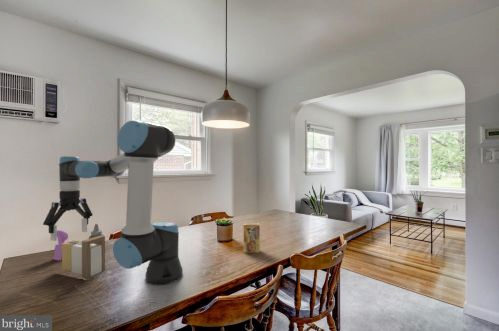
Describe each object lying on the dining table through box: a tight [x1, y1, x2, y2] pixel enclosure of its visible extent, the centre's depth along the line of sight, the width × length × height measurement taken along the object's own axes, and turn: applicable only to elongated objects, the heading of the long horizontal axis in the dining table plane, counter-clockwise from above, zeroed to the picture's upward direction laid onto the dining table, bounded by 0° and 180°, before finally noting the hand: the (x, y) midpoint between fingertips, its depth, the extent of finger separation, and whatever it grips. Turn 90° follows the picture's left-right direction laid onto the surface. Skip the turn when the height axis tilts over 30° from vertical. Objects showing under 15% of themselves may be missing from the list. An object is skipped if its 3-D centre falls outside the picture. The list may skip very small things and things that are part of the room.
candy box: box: [243, 222, 261, 253], centre depth 133 cm, size 9×4×15 cm, turn 92°
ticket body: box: [71, 235, 106, 278], centre depth 107 cm, size 12×8×16 cm
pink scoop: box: [52, 229, 70, 262], centre depth 124 cm, size 8×9×15 cm
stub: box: [61, 239, 82, 272], centre depth 110 cm, size 6×5×12 cm
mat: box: [85, 267, 112, 281], centre depth 109 cm, size 24×12×1 cm, turn 71°
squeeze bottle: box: [88, 223, 107, 252], centre depth 122 cm, size 8×8×18 cm
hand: (69, 235), depth 111 cm, fingers open, 13 cm apart
